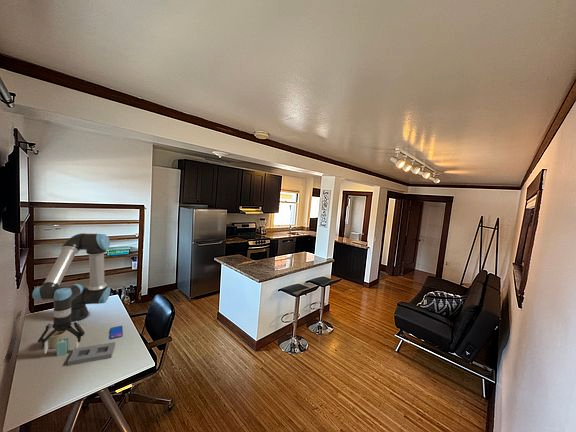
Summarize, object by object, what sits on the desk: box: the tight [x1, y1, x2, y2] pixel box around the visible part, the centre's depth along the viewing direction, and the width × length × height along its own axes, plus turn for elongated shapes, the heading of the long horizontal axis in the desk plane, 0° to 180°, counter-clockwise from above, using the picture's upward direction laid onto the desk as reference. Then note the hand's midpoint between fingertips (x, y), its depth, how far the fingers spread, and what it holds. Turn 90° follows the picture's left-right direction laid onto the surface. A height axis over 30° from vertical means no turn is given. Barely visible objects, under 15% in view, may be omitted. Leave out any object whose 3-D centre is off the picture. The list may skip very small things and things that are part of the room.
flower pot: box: [44, 329, 68, 349], centre depth 150 cm, size 9×9×9 cm
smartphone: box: [109, 325, 124, 340], centre depth 168 cm, size 7×1×15 cm
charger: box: [56, 338, 69, 357], centre depth 144 cm, size 4×4×9 cm
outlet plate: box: [67, 341, 116, 366], centre depth 145 cm, size 12×20×2 cm, turn 116°
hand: (62, 349), depth 144 cm, fingers open, 13 cm apart
